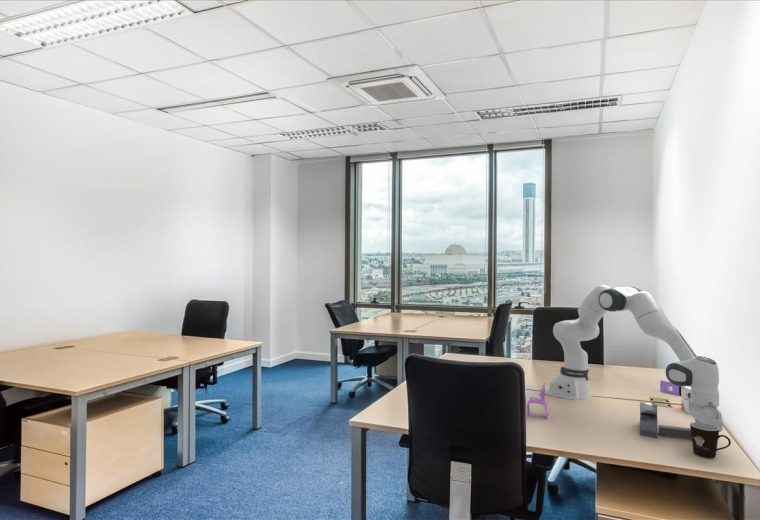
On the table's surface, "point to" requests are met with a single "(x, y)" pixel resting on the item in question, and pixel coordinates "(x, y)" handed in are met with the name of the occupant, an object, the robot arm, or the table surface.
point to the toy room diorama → (666, 388)
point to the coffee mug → (705, 439)
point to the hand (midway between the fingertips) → (705, 434)
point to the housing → (648, 420)
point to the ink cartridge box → (685, 398)
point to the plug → (675, 431)
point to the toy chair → (539, 401)
